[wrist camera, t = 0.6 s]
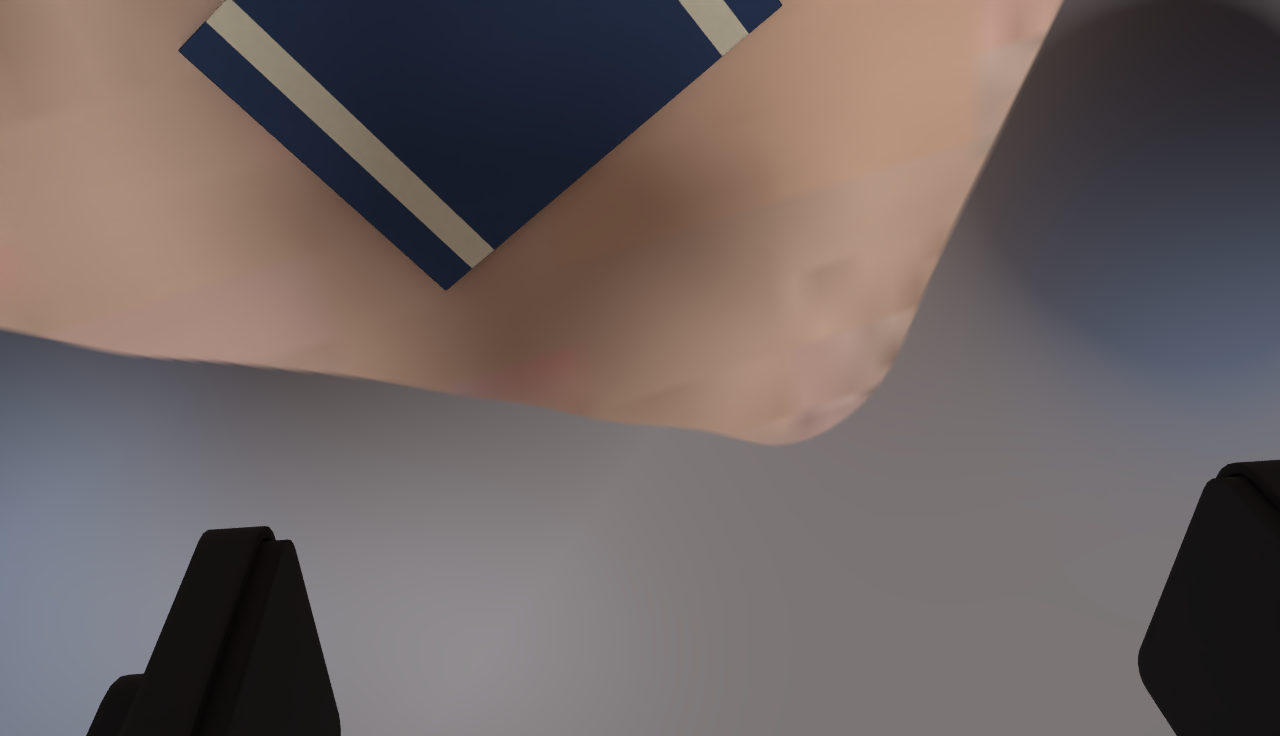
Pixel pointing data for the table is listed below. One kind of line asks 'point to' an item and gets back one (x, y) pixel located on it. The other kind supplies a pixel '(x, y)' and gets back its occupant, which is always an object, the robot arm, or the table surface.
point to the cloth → (459, 99)
